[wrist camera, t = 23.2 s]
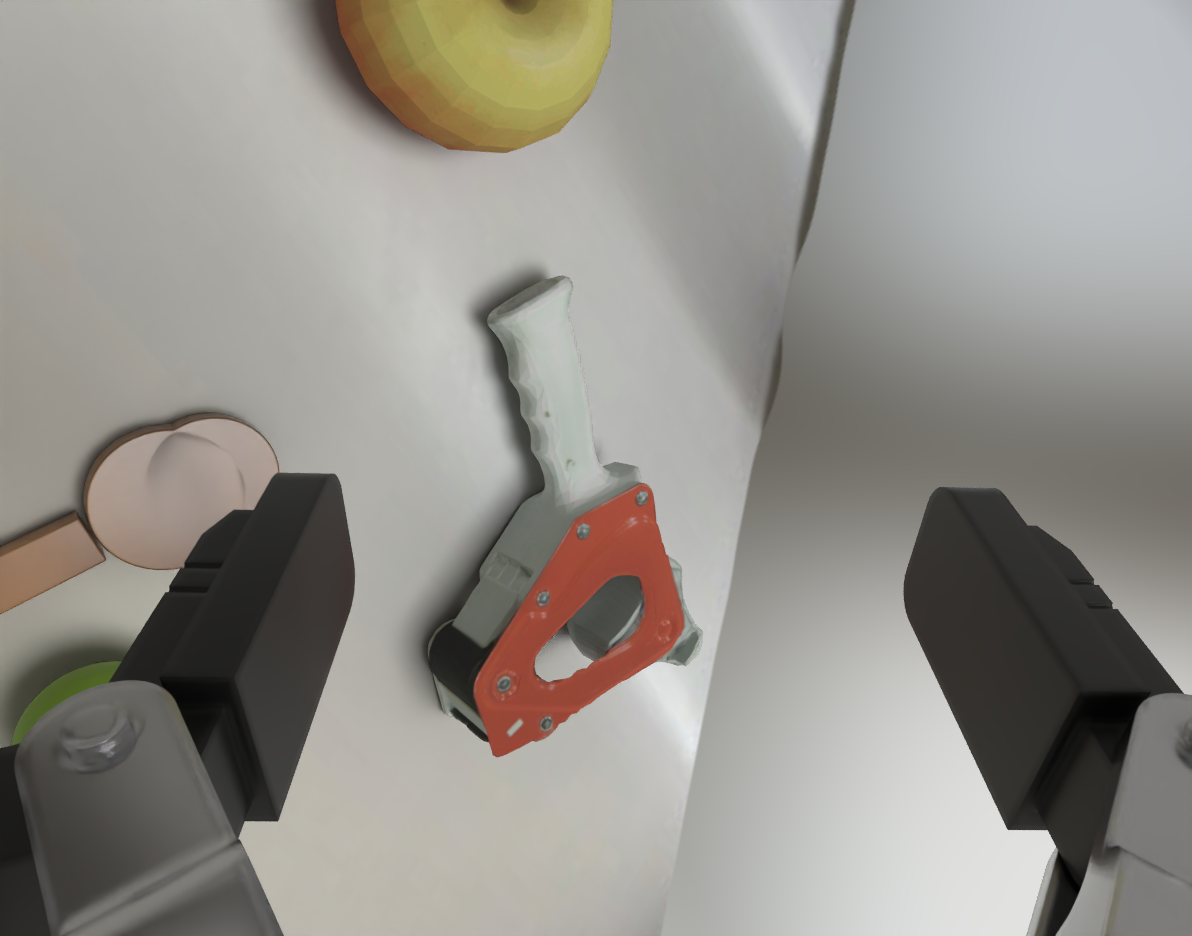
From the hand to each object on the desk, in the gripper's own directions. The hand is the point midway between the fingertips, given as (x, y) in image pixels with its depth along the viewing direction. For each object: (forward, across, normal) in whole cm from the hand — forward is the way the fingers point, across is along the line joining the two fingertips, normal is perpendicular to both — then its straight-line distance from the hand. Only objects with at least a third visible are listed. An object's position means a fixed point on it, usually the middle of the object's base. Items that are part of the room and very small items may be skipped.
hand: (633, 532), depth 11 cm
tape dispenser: (+23, +2, +18) cm, 29 cm away
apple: (+27, +7, -4) cm, 28 cm away
